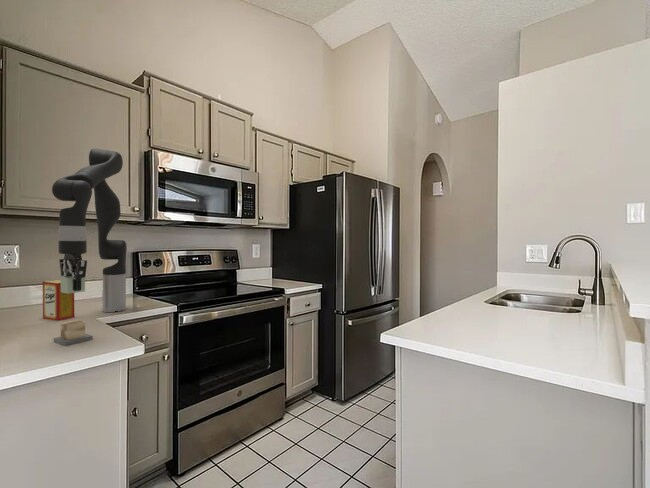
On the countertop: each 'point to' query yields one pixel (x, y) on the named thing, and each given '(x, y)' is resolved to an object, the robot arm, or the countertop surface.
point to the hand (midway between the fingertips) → (73, 289)
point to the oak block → (72, 329)
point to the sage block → (70, 285)
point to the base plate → (72, 340)
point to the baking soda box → (57, 302)
